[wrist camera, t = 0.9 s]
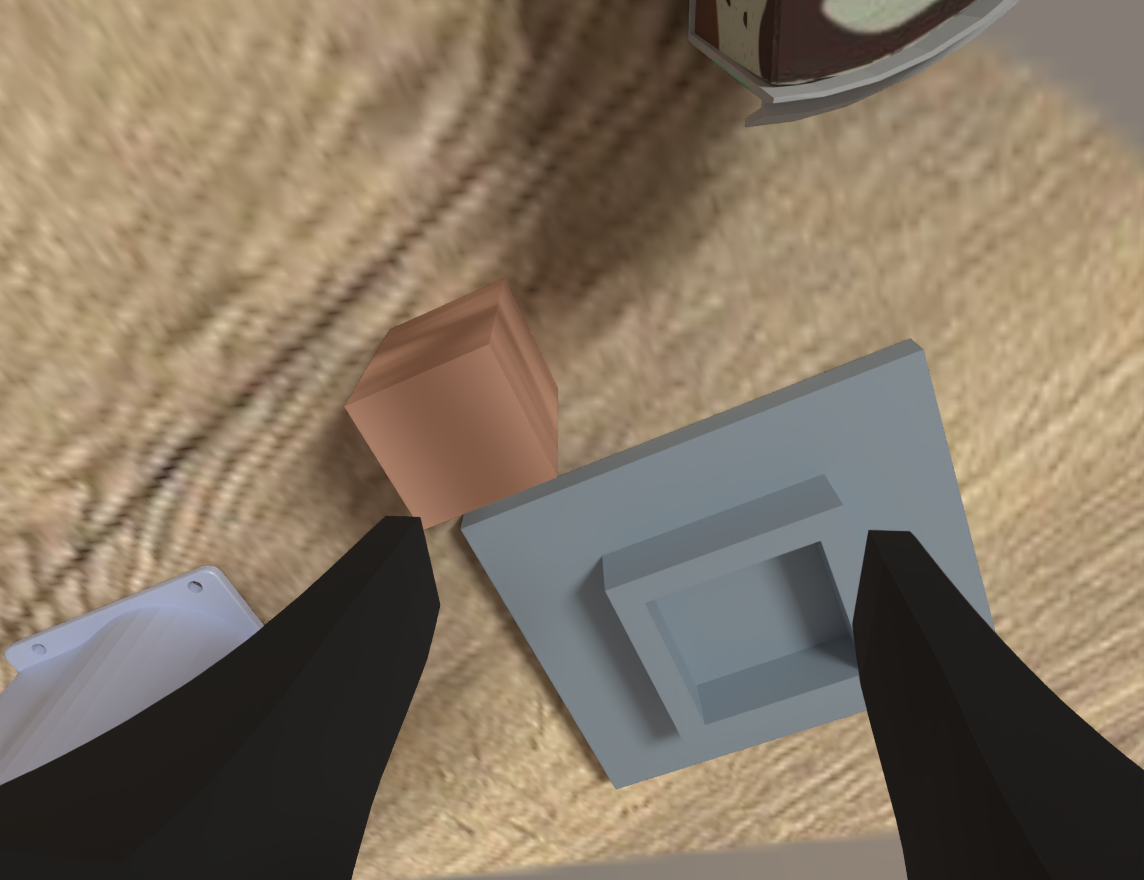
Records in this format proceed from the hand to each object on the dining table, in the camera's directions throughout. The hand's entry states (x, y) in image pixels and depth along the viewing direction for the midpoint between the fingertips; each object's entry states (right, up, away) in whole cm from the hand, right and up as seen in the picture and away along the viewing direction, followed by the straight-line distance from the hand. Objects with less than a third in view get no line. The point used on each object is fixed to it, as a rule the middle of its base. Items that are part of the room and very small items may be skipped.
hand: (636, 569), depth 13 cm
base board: (+5, -3, +17) cm, 18 cm away
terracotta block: (-4, +5, +12) cm, 14 cm away
